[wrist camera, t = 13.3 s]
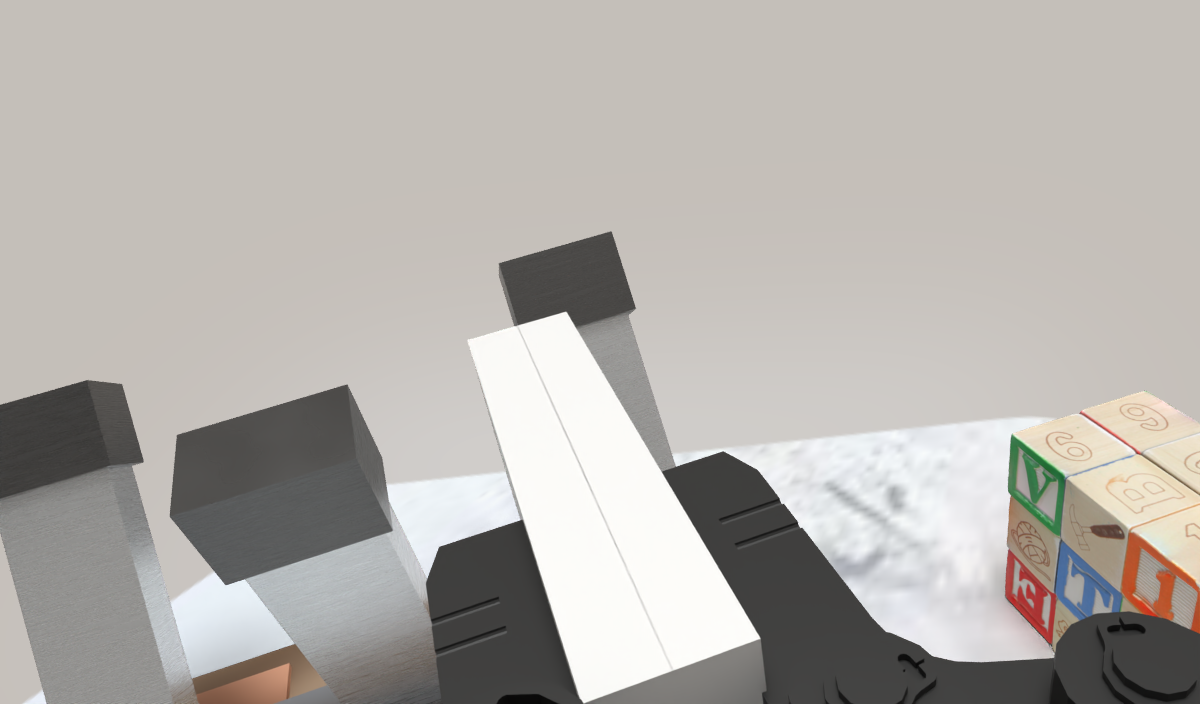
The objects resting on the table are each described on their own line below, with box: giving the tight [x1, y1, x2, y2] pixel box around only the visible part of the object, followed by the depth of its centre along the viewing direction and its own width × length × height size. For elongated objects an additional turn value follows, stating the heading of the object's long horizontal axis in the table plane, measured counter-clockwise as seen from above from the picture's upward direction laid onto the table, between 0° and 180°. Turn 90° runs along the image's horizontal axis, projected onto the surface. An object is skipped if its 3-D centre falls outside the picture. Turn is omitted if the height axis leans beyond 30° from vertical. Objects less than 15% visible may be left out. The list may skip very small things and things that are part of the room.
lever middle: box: [170, 385, 442, 704], centre depth 26 cm, size 3×5×14 cm, turn 106°
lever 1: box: [0, 380, 199, 704], centre depth 31 cm, size 3×5×14 cm
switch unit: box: [192, 644, 442, 704], centre depth 35 cm, size 16×30×5 cm, turn 105°
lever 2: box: [499, 232, 676, 472], centre depth 34 cm, size 3×5×14 cm
